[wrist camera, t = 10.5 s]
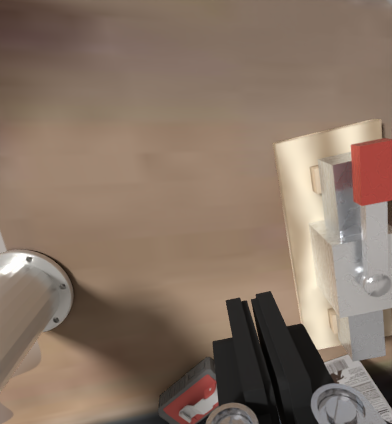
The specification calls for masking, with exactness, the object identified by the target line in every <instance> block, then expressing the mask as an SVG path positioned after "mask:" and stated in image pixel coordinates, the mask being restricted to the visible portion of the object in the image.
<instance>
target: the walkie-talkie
mask: <svg viewBox="0 0 392 424" xmlns="http://www.w3.org/2000/svg"><path fill="white" fill-rule="evenodd" d="M218 407H219V404H218V394H217V384H216V373H215V363H214V360H213V359H211V358H210V357H206V358H205V359H204V360H203V361H201V362H200V363H199V364H198V365H196V366H195V367H194V368H193V369H191V370H190V371H189V372H188V373H186V375H184V377H182V378H181V379H179V381H177V382H176V383H174V385H172V386H171V387H169V389H167V390H166V391H164V393H162V394H161V395H160V399H159V409H158V414H159V415H160V417H161V418H163V419H164V420H166V421H167V422H168V423H170V424H197V423H199V422H200V421H201V420H202V419H204V418H205V417H207V416H208V415H209V414H210V413H212V412H213V411H214V410H215V409H216V408H218Z"/></svg>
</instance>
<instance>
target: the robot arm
mask: <svg viewBox="0 0 392 424" xmlns="http://www.w3.org/2000/svg"><path fill="white" fill-rule="evenodd" d="M73 298H74V294H73V287H72V284H71V281H70V279H69V277H68V276H67V274H66V272H65V271H64V270H63V269H62V268H61V267H60V266H59V265H58V264H57V263H56V262H55V261H53V260H52V259H50V258H48V257H47V256H45V255H43V254H40V253H38V252H34V251H29V250H18V249H17V250H10V251H6V252H3V253H0V393H1V391H2V390H3V388H4V387H5V386H6V384H7V383H8V381H9V380H10V378H11V377H12V375H13V374H14V372H15V371H16V369H17V368H18V367H19V365H20V364H21V362H22V361H23V359H24V358H25V356H26V355H27V353H28V352H29V350H30V349H31V348H32V346H33V345H34V343H35V342H36V340H37V339H38V337H39V336H40V335H41V333H42V332H46V331H49V330H51V329H53V328H55V327H57V326H58V325H59V324H60V323H62V322H63V320H64V319H65V318H66V317H67V315H68V313H69V312H70V310H71V307H72V304H73ZM251 302H252V307H253V312H254V317H255V322H256V327H257V332H258V336H257V333H256V330H255V326H254V323H253V320H252V317H251V313H250V310H249V307H248V303H247V300H246V301H241V299H240V298H235V299H231V300H226V305H227V310H228V315H229V321H230V326H231V331H232V336H233V337H232V338H227V339H222V340H218V341H213V353H214V363H215V373H216V384H217V394H218V404H219V407H218V408H216V409H215V410H214V411H213V412H212V413H211V414H210V415H209V417H208V419H207V420H206V424H280V422H279V417H278V413H279V416H280V420H281V423H282V424H392V423H390V422H388V421H386V420H384V419H383V418H382V417H381V415H380V414H379V413H378V412H377V411H376V409H375V408H374V407H373V406H372V405H371V403H370V402H369V401H368V400H367V398H366V397H365V396H363V395H362V394H361V393H360V392H359V391H357V390H356V389H354V388H352V387H350V386H347V385H344V384H335V382H334V380H333V379H332V377H331V375H330V373H329V371H328V369H327V367H326V366H325V364H324V362H323V360H322V358H321V356H320V354H319V353H318V351H317V349H316V347H315V345H314V343H313V341H312V339H311V338H310V336H309V334H308V332H307V330H306V328H305V327H304V325H303V324H297V325H292V326H286V324H285V322H284V320H283V318H282V315H281V313H280V311H279V309H278V307H277V304H276V302H275V300H274V298H273V295H272V293H271V292H270V291H269V292H264V293H260V294H256V298H255V299H251ZM258 337H259V340H258ZM259 342H260V343H259ZM276 406H277V407H276ZM277 410H278V412H277Z"/></svg>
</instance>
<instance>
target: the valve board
mask: <svg viewBox="0 0 392 424" xmlns="http://www.w3.org/2000/svg"><path fill="white" fill-rule="evenodd" d="M377 139H382V127H381V119H372V120H367V121H363V122H359V123H355V124H351V125H346V126H342V127H338V128H334V129H330V130H325V131H321V132H317V133H313V134H308V135H304V136H300V137H296V138H292V139H287V140H283V141H279V142H275V143H272V144H273V150H274V156H275V163H276V169H277V175H278V181H279V188H280V194H281V200H282V207H283V213H284V219H285V226H286V232H287V238H288V245H289V251H290V257H291V263H292V270H293V276H294V282H295V289H296V295H297V301H298V308H299V314H300V320H301V324H303V325H304V327H305V328H306V330H307V332H308V334H309V336H310V338H311V339H312V341H313V343H314V345H315V347H316V349H317V350H319V349H324V348H329V347H334V346H339V345H342V344H341V342H340V341H339V338H338V329H337V321H336V312H335V310H334V309H333V308H332V306H331V305H330V303H329V302H328V300H327V299H326V298H325V296H324V295H323V293H322V292H321V291H320V289H319V288H318V286H317V283H316V276H315V268H314V261H313V254H312V246H311V239H310V231H309V224H308V223H312V222H316V221H321V220H325V218H324V210H323V201H322V193H321V184H320V176H319V167H318V159H322V158H326V157H330V156H335V155H339V154H343V153H347V152H351V144H356V143H362V142H367V141H372V140H377ZM383 322H384V337H386V336H391V335H392V314H391V308H389V309H384V310H383Z"/></svg>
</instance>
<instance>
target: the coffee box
mask: <svg viewBox="0 0 392 424" xmlns="http://www.w3.org/2000/svg"><path fill="white" fill-rule="evenodd" d="M324 364H325V366H326V367H327V369H328V371H329V373H330V375H331V377H332V379H333V380H334V382H335V384H344V385H347V386H350V387H352V388H354V389H356V390H357V391H359V392H360V393H361V394H362V395H363V396H365V397H366V398H367V400H368V401H369V402H370V403H371V405H372V406H373V407H374V408H375V409H376V411H377V412H378V413H379V414H380V415H381V417H382V418H383V419H384V420H386V421H388V422H390V423H392V408H391V407H390V405H389V404H388V402H387V401H386V399H385V398H384V396H383V395H382V393H381V392H380V390H379V389H378V387H377V386H376V384H375V383H374V381H373V380H372V378H371V376H370V375H369V374H368V372H367V370H366V369H365V367H364V366H363V365H362V363H361V361H360V360H359V361H354V362H353V361H352V360H351V358H350V356H349V355H348V354H347V355H344V356H342V357H339V358H336V359H333V360H330V361H327V362H324Z"/></svg>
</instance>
